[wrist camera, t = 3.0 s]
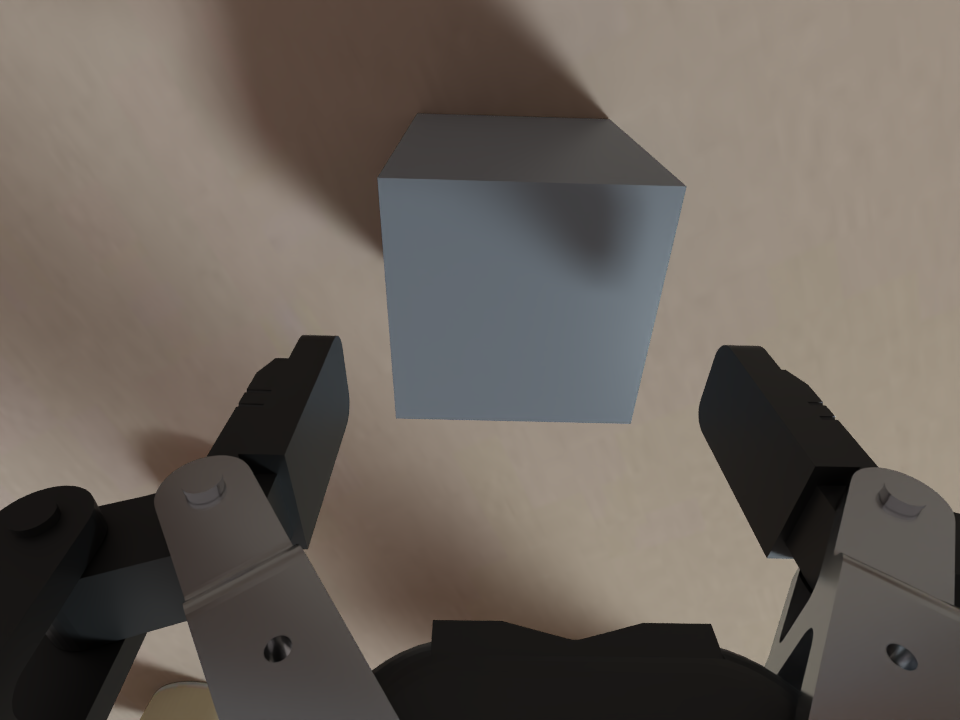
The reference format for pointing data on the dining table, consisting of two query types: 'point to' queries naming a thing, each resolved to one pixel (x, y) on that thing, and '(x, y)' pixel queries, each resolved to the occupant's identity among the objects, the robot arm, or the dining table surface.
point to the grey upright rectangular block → (523, 267)
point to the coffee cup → (181, 703)
